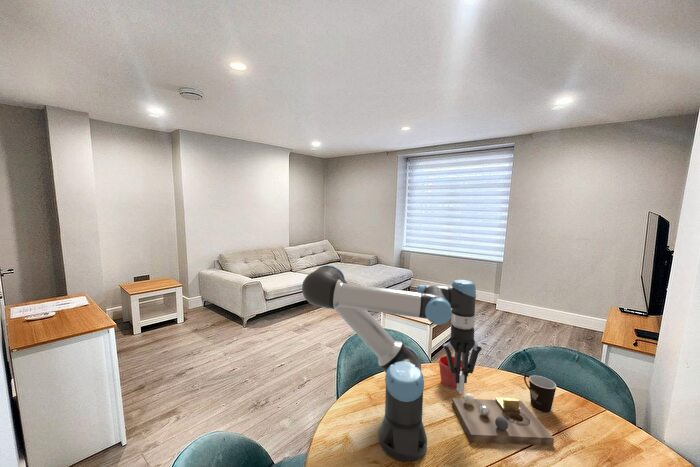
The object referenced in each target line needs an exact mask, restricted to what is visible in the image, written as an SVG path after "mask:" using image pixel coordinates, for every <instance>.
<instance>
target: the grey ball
mask: <svg viewBox="0 0 700 467" xmlns="http://www.w3.org/2000/svg"><path fill="white" fill-rule="evenodd" d="M495 424H496V426H497V428H499V429H500V430H506V429H507V428H508V422H507V420H506V419H505V418H503V417H497V418H496V420H495Z"/></svg>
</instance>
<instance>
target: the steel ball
mask: <svg viewBox="0 0 700 467" xmlns="http://www.w3.org/2000/svg"><path fill="white" fill-rule="evenodd" d="M479 412H480V414H481V415H482V416H484V417H487V416H489V414H490V411H489V409H488V407H486V406H484V405H482V406H480V407H479Z"/></svg>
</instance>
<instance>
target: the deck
mask: <svg viewBox="0 0 700 467" xmlns="http://www.w3.org/2000/svg"><path fill="white" fill-rule="evenodd" d="M451 400H452V403H451V405H452V407H453V409H454V412H455V413H456V415H457V417H458V419H459V421H460V423H461V425H462V427H463V430H464V431H465V433H466V435H467V438H468V439H469V441H470V443H487V444H507V445H508V444H509V445H534V446H554V444H555V443H554V442H555V441H554V440H555V438H554V437H553V435H552V434H551V433H550V432H549V430H548V429H547V428H546V427H545V426H544V424H542V422H540V420H539V419H538V418H537V417H536V415H535V414H534V413H533V412H532V411H531V410H530V409H529V408H528V406H527V405H526V404H525V403H524V402H523V401H522V400H519V408H520V411H505V410H503V409H502V408H501V407H500V405H499V404H498V403H497V401H496V400H495V399H486V398H485V399H481V398H474V400H475V401H474V403H473V404H472V405H468V404H466V403H465V402H464V398H461V397H458V398H456V397H454V398H451ZM482 405H484V406H486V407H488V409H489V411H490V414H489V416H487V417H484V416H482V415H481V414H480V412H479V407H480V406H482ZM497 417H503V418H505V419H506V420H507V422H508V428H507V429H506V430H500V429H499V428H497V426H496V424H495V420H496V418H497Z"/></svg>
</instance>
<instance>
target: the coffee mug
mask: <svg viewBox="0 0 700 467" xmlns="http://www.w3.org/2000/svg"><path fill="white" fill-rule="evenodd" d="M527 378H528V382H529V385H528V383H527V380H526V379H527ZM523 380H524V383H525V385H526V387H527V389H528V390H529V396H530V405H531V407H532V409H534V410H536V411H538V412H541V413H545V414H548V413H551V412H552V408H553V402H554V398H555V394H556V391H557V384H556V383H555V381H553V380H551V379H549V378H547V377H545V376H542V375H535V374H534V375H528V374H527V375H524V376H523Z"/></svg>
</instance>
